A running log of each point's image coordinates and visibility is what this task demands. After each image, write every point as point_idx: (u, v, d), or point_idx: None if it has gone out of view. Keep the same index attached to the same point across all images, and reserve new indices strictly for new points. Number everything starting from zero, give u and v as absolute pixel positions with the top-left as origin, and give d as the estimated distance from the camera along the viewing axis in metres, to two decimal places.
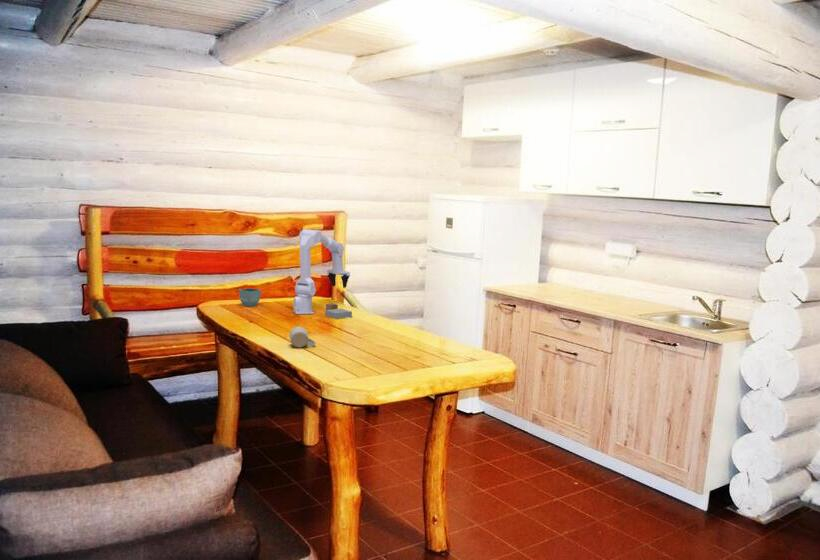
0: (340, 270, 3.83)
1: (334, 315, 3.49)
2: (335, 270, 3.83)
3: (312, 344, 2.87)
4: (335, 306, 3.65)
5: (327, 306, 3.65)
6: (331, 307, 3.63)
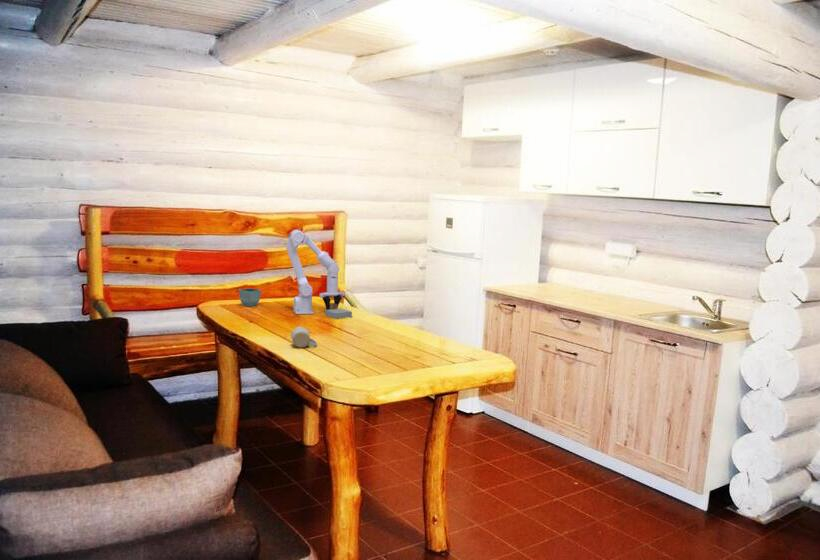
0: (327, 291, 3.64)
1: (334, 315, 3.49)
2: None
3: (314, 344, 2.87)
4: (335, 306, 3.65)
5: None
6: (331, 307, 3.63)
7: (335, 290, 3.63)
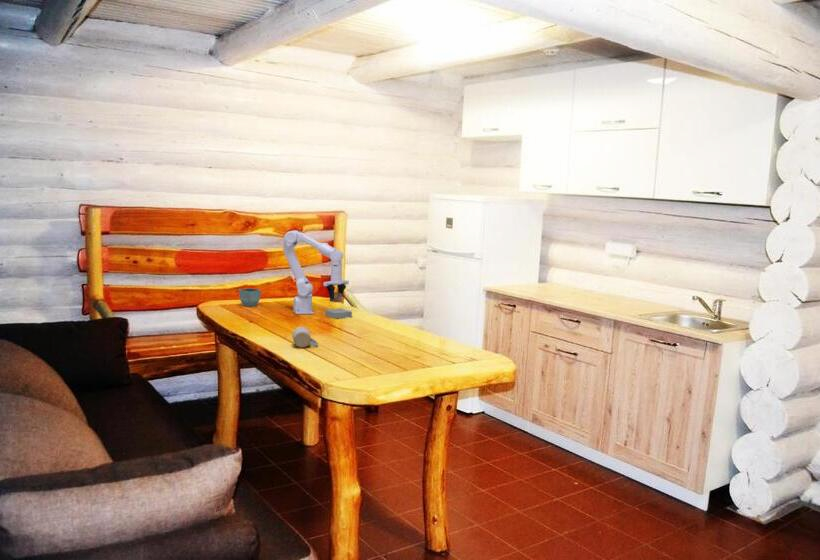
0: None
1: (334, 315, 3.49)
2: None
3: (315, 344, 2.87)
4: (339, 295, 3.58)
5: None
6: (335, 296, 3.57)
7: (339, 279, 3.56)
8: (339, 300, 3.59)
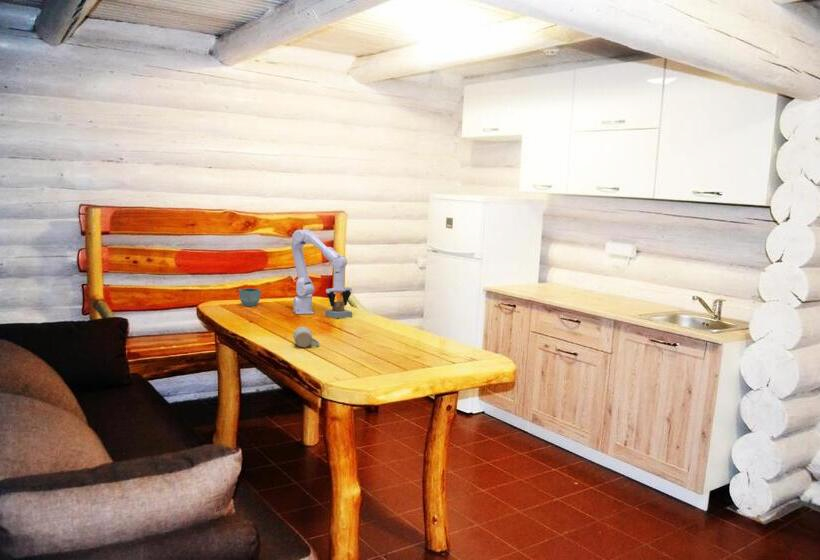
0: None
1: (334, 315, 3.49)
2: None
3: (316, 344, 2.87)
4: (342, 304, 3.54)
5: None
6: (338, 305, 3.52)
7: (342, 286, 3.52)
8: (342, 309, 3.54)
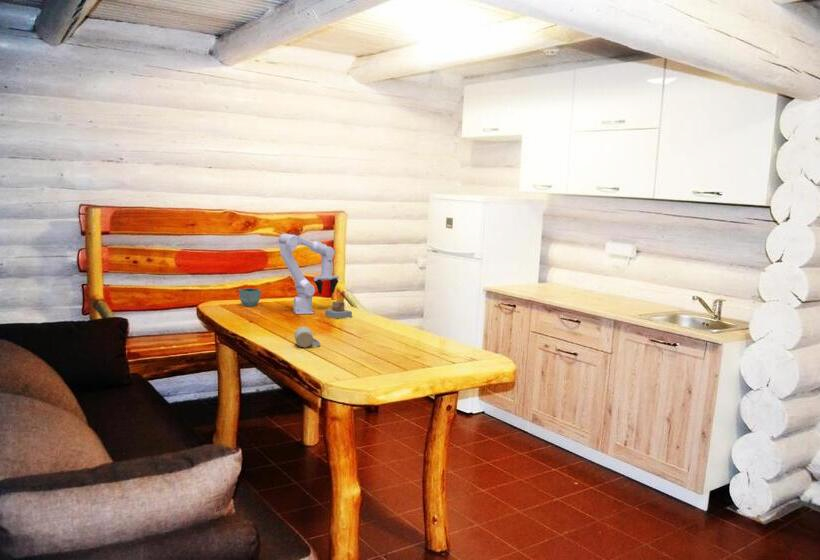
0: (321, 274, 3.68)
1: (334, 315, 3.49)
2: None
3: (317, 344, 2.87)
4: (342, 304, 3.54)
5: (333, 304, 3.54)
6: (338, 305, 3.52)
7: (329, 274, 3.67)
8: (342, 309, 3.54)
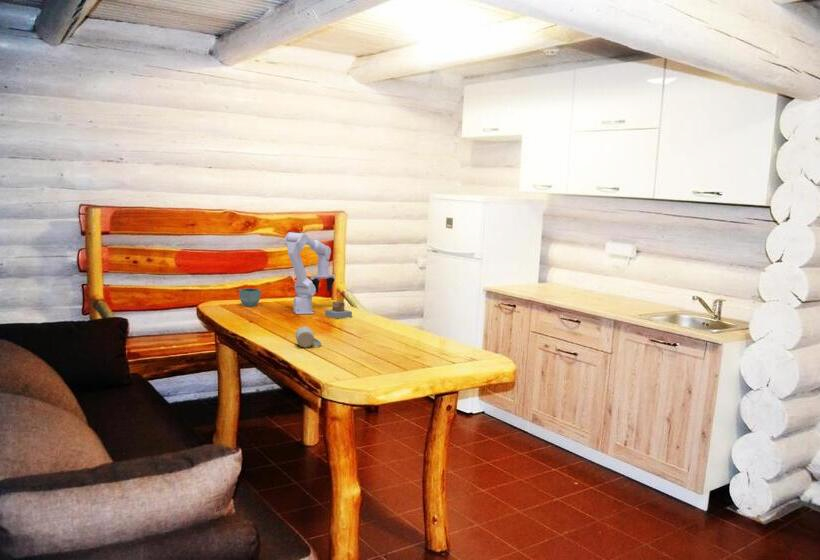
0: None
1: (334, 315, 3.49)
2: None
3: (318, 344, 2.87)
4: (342, 304, 3.54)
5: (333, 304, 3.54)
6: (338, 305, 3.52)
7: (326, 273, 3.72)
8: (342, 309, 3.54)
